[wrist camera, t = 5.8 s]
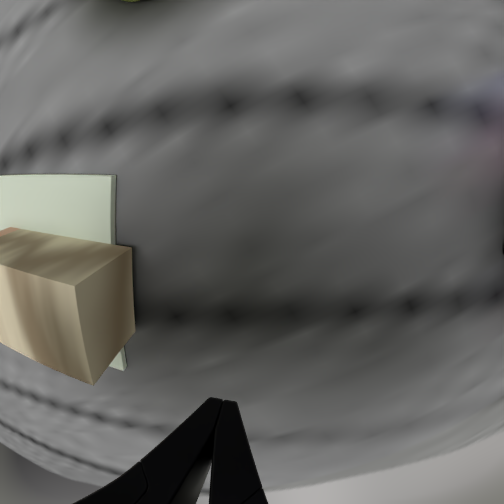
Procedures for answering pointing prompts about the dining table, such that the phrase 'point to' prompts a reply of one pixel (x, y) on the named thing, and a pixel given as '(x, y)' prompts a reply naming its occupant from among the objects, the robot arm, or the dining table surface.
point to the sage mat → (62, 209)
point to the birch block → (65, 300)
